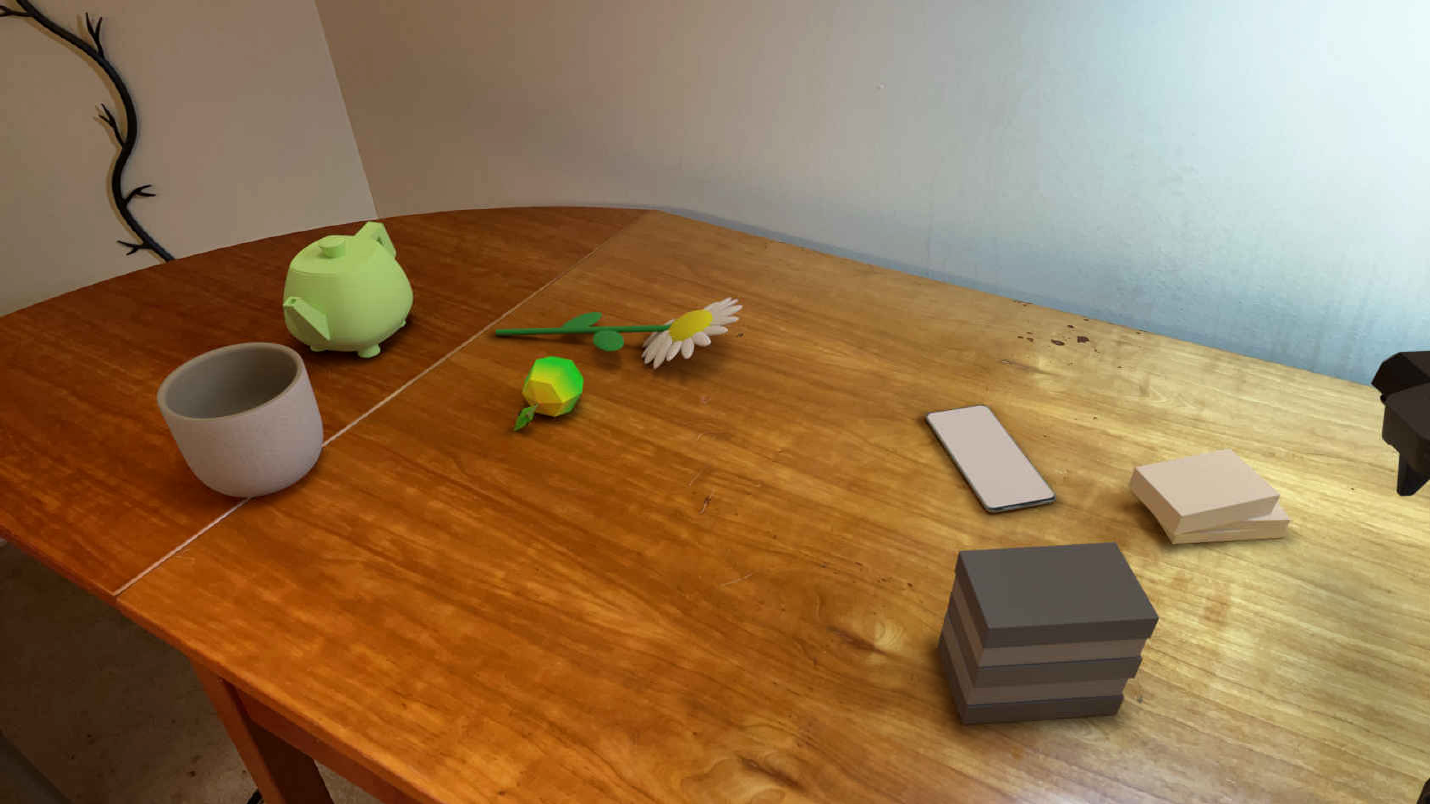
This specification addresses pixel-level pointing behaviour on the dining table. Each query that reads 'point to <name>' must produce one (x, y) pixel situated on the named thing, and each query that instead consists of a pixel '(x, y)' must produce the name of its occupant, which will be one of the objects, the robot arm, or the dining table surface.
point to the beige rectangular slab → (1238, 529)
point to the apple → (550, 388)
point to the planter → (244, 418)
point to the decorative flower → (663, 339)
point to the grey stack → (1043, 632)
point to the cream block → (1202, 491)
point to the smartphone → (989, 459)
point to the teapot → (347, 292)
